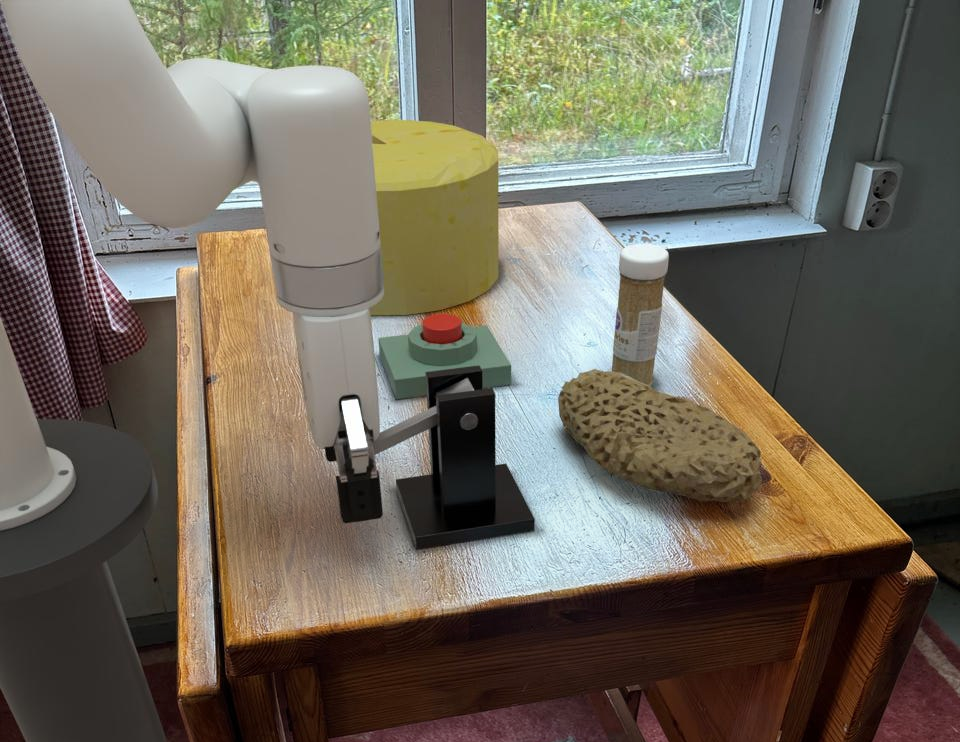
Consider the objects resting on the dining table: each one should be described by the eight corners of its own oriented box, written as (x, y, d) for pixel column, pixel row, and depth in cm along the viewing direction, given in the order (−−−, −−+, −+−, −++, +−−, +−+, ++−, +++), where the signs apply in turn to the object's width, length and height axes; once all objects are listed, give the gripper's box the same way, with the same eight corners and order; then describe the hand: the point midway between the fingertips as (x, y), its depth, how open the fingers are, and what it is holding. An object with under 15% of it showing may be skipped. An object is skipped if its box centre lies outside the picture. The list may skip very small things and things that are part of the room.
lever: (349, 490, 76) (335, 467, 74) (340, 458, 79) (327, 435, 78) (489, 423, 75) (478, 398, 73) (474, 393, 79) (463, 369, 77)
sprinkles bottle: (601, 378, 100) (611, 246, 92) (639, 369, 102) (653, 239, 93) (623, 397, 97) (636, 262, 88) (662, 388, 99) (679, 254, 90)
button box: (396, 399, 98) (393, 362, 95) (379, 357, 105) (376, 321, 102) (511, 384, 100) (511, 347, 97) (487, 344, 107) (486, 308, 104)
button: (427, 348, 98) (426, 331, 97) (419, 332, 101) (418, 316, 100) (465, 343, 99) (465, 327, 98) (457, 327, 102) (456, 311, 101)
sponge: (541, 445, 93) (633, 518, 76) (551, 362, 89) (651, 420, 73) (662, 446, 97) (774, 515, 81) (677, 366, 94) (798, 422, 77)
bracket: (416, 549, 79) (406, 418, 71) (396, 490, 85) (385, 365, 77) (534, 530, 80) (538, 401, 72) (506, 474, 87) (506, 350, 79)
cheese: (290, 244, 131) (273, 121, 121) (481, 231, 134) (480, 110, 124) (294, 323, 112) (273, 185, 102) (516, 306, 114) (518, 170, 104)
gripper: (264, 237, 73) (296, 441, 84) (286, 332, 60) (320, 556, 72) (363, 227, 74) (381, 429, 86) (405, 318, 61) (419, 541, 73)
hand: (353, 486), depth 79 cm, fingers open, 8 cm apart
